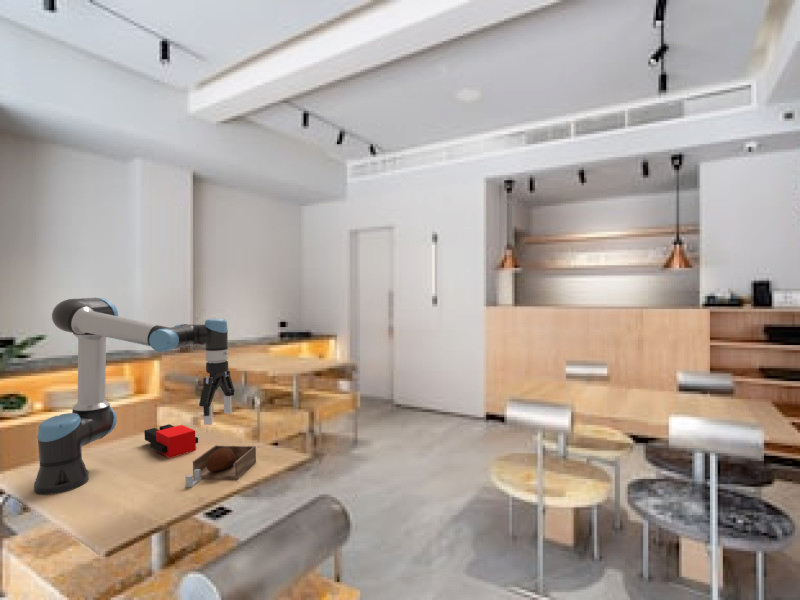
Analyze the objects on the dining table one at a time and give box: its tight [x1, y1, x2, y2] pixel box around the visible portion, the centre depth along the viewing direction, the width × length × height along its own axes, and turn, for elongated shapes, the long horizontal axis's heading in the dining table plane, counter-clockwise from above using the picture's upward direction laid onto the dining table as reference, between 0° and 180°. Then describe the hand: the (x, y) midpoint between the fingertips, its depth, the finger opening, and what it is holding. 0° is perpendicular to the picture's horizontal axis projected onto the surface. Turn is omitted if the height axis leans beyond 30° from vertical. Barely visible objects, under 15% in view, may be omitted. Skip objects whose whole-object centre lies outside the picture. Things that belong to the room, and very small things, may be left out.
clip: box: [184, 469, 202, 488], centre depth 151 cm, size 2×6×4 cm, turn 174°
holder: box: [192, 445, 257, 481], centre depth 162 cm, size 16×15×6 cm
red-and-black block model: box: [143, 423, 199, 459], centre depth 186 cm, size 15×8×25 cm
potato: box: [206, 448, 236, 472], centre depth 159 cm, size 8×12×8 cm, turn 156°
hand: (218, 418), depth 160 cm, fingers open, 13 cm apart
